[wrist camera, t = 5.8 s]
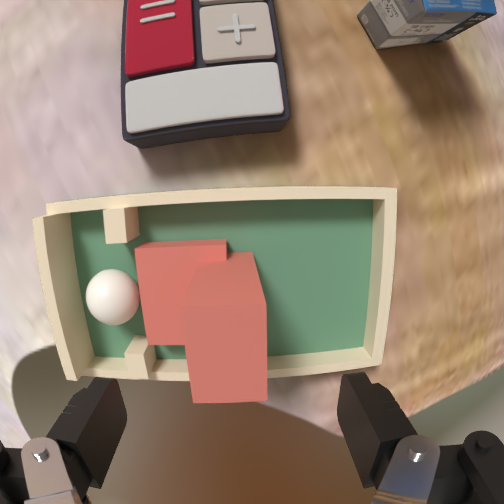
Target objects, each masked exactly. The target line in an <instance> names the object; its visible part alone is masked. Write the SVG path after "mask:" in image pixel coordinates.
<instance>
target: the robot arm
mask: <svg viewBox="0 0 504 504" xmlns="http://www.w3.org/2000/svg"><path fill="white" fill-rule="evenodd" d="M337 417H338V422H339V425H340V427H341V430H342V432H343V435H344V438H345V440H346V443H347V445H348V448H349V451H350V453H351V456H352V458H353V461H354V463H355V466H356V468H357V471H358V474H359V477H360V479H361V482H362V485H363V487H364V488H368V487H372V486H375V488H376V490H377V492H376V494H375V495H374V497H373V499H372V501H371V503H370V504H504V445H503V443H502V442H501V441H500V440H499V438H498V437H497V436H496V435H494V434H492V433H490V432H487V431H476V432H473V433H471V434H469V435H468V436H467V437H466V438H465V440H464V443H463V444H460V445H449V446H439V445H438V444H437V443H436V442H435V441H434V440H433V439H432V438H430V437H427V436H424V435H418V434H417V433H416V431H415V429H414V428H413V426H412V424H411V423H410V421H409V420H408V418H407V417H406V415H405V414H404V412H403V411H402V409H400V406H399V404H398V403H397V401H395V398H394V397H393V395H392V394H391V392H390V391H389V390H388V389H387V388H385V387H384V386H382V385H381V384H379V383H375V384H372V383H371V382H370V380H369V378H368V377H367V375H366V374H365V372H358V373H351V374H344V375H343V376H342V379H341V386H340V393H339V399H338V406H337ZM126 422H127V413H126V408H125V405H124V402H123V398H122V395H121V391H120V388H119V384H118V382H117V380H116V379H115V378H105V377H95V378H94V379H93V381H92V382H91V384H90V385H89V387H88V388H87V389H86V388H83V389H82V390H80V391H79V392H77V393H76V394H75V395H73V397H72V398H71V400H70V401H69V403H68V406H66V408H65V409H64V410H63V413H62V414H61V415H60V416H59V418H58V419H57V421H56V422H55V424H54V425H53V427H52V429H51V430H50V431H49V433H48V435H47V436H46V437H39V438H34V439H32V440H30V441H28V442H27V443H26V444H25V445H24V446H23V448H22V449H20V448H5V447H4V446H3V444H2V442H1V441H0V504H92V502H91V500H90V498H89V496H88V494H87V490H88V488H89V486H90V487H94V488H99V489H101V487H102V484H103V482H104V479H105V476H106V474H107V471H108V469H109V466H110V464H111V461H112V459H113V456H114V454H115V451H116V448H117V446H118V444H119V441H120V439H121V436H122V434H123V431H124V429H125V426H126Z"/></svg>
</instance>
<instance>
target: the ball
mask: <svg viewBox="0 0 504 504" xmlns="http://www.w3.org/2000/svg"><path fill="white" fill-rule="evenodd" d="M139 302H140V294H139V290H138V287H137V285H136V283H135V281H134V280H133V279H132V278H131V277H130V276H129V275H128V274H127V273H125V272H123V271H121V270H117V269H107V270H103V271H101V272H99V273H97V274H96V275H95V276H94V277H93V278H92V279H91V280H90V282H89V284H88V286H87V290H86V303H87V306H88V309H89V311H90V312H91V314H92V315H93V316H94V317H95V318H96V319H97V320H98V321H100V322H102V323H104V324H107V325H120V324H123V323H125V322H127V321H128V320H130V319H131V318H132V317H133V316H134V315H135V313H136V311H137V309H138V306H139Z"/></svg>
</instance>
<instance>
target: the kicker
mask: <svg viewBox="0 0 504 504" xmlns="http://www.w3.org/2000/svg"><path fill="white" fill-rule="evenodd" d="M135 259H136V268H137V276H138V284H139V292H140V299H141V306H142V312H143V319H144V325H145V331H146V337H147V342H148V345H185V352H186V359H187V366H188V373H189V379H190V385H191V392H192V398H193V403H231V402H254V401H267V310H266V301H265V297H264V293H263V290H262V286H261V282H260V279H259V275H258V271H257V268H256V264H255V260H254V256H253V253H252V252H234V253H227V239H208V240H185V241H164V242H143V243H142V244H140V245H139V246H138V247H136V248H135Z"/></svg>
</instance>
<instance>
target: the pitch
mask: <svg viewBox="0 0 504 504" xmlns="http://www.w3.org/2000/svg"><path fill="white" fill-rule="evenodd" d="M46 210H47V215H45V216H40V217H36V218H32V222H33V231H34V240H35V247H36V254H37V261H38V267H39V273H40V279H41V284H42V289H43V294H44V299H45V303H46V308H47V312H48V316H49V321H50V325H51V329H52V332H53V336H54V340H55V343H56V347H57V350H58V353H59V357H60V360H61V363H62V366H63V370H64V373H65V375H66V379H67V380H74V381H77V380H78V379H79V378H80V376H81V375H85V376H95V377H106V378H119V379H136V380H160V381H161V380H163V381H190V379H189V373H188V366H187V359H186V352H185V345H148V342H147V337H146V331H145V325H144V319H143V312H142V306H141V299H140V302H139V306H138V309H137V311H136V313H135V315H134V316H133V317H132V318H131V319H130V320H128V321H127V322H125V323H123V324H120V325H107V324H104V323H102V322H100V321H98V320H97V319H96V318H95V317H94V316H93V315H92V314H91V312H90V311H89V309H88V306H87V303H86V290H87V286H88V284H89V282H90V280H91V279H92V278H93V277H94V276H95V275H96V274H97V273H99V272H101V271H103V270H107V269H117V270H121V271H123V272H125V273H127V274H128V275H129V276H130V277H131V278H132V279H133V280H134V281H135V283H136V285H137V287H138V290H139V284H138V276H137V268H136V259H135V248H136V247H138V246H139V245H140V244H142V243H143V242H164V241H185V240H208V239H227V253H234V252H252V253H253V256H254V260H255V264H256V268H257V271H258V275H259V279H260V282H261V286H262V290H263V293H264V297H265V301H266V310H267V378H280V377H292V376H302V375H312V374H321V373H329V372H337V371H344V370H351V369H358V368H364V367H370V366H376V365H381V363H382V357H383V351H384V345H385V339H386V332H387V325H388V317H389V309H390V301H391V292H392V282H393V270H394V257H395V241H396V216H397V188H386V187H359V186H271V187H236V188H213V189H194V190H177V191H163V192H149V193H137V194H126V195H115V196H105V197H95V198H86V199H77V200H69V201H62V202H55V203H49V204H46ZM139 294H140V292H139Z"/></svg>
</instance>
